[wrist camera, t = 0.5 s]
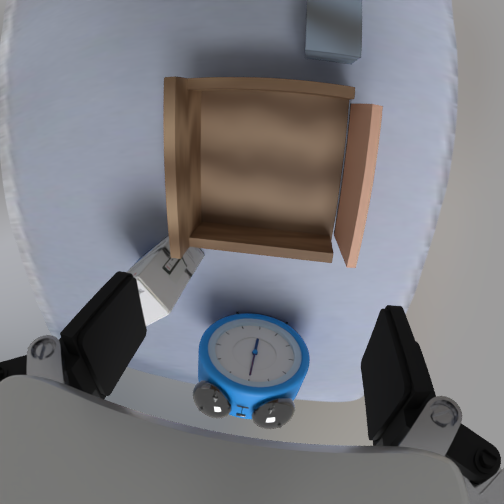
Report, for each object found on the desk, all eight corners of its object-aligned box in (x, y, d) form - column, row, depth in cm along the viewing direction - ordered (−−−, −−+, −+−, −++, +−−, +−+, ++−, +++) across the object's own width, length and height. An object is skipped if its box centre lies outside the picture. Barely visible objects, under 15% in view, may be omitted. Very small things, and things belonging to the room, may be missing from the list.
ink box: (162, 283, 40) (122, 341, 30) (139, 256, 38) (91, 308, 28) (207, 255, 36) (171, 316, 26) (181, 223, 35) (135, 276, 25)
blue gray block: (306, -1, 21) (307, -19, 17) (353, 5, 20) (361, -11, 16) (304, 58, 24) (305, 49, 20) (351, 64, 24) (361, 57, 19)
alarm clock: (311, 321, 39) (308, 417, 26) (300, 352, 42) (293, 441, 29) (215, 302, 40) (178, 390, 27) (212, 334, 43) (180, 418, 30)
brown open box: (198, 82, 27) (164, 77, 20) (346, 91, 25) (363, 85, 18) (198, 222, 35) (170, 257, 27) (329, 236, 33) (335, 277, 25)
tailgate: (349, 103, 24) (372, 104, 18) (357, 104, 24) (382, 106, 18) (332, 232, 31) (346, 267, 24) (340, 232, 31) (355, 267, 24)
